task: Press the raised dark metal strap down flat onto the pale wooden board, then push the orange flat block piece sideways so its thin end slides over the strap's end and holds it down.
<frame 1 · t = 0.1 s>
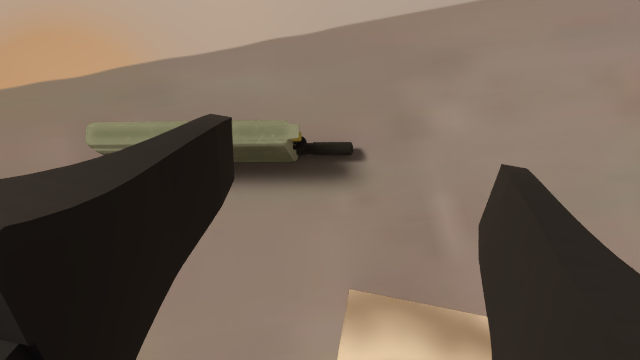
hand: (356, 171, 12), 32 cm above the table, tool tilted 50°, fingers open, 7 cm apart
handheld radio: (235, 153, 47), on the table
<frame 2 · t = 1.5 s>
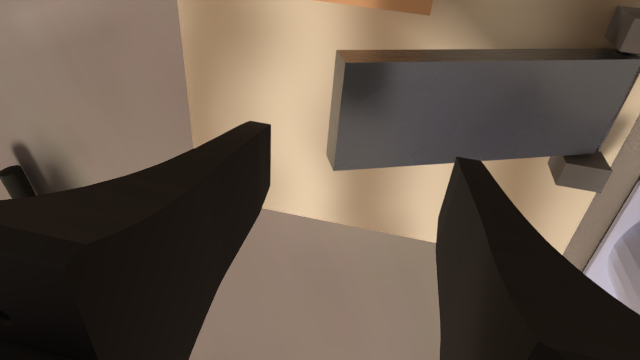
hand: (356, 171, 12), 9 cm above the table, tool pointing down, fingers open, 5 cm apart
board: (401, 46, 19), on the table
handheld radio: (97, 290, 36), on the table
strap: (487, 107, 15), point 5 cm above the table, hinge at 25.0°
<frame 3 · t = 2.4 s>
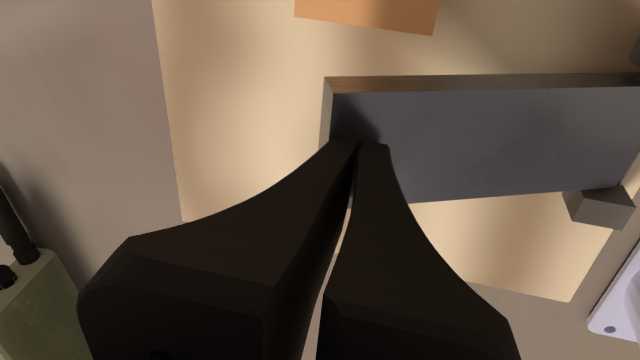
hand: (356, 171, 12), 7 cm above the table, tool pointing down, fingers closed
board: (400, 64, 17), on the table
handheld radio: (85, 310, 34), on the table
strap: (496, 138, 13), point 5 cm above the table, hinge at 24.7°, touching gripper
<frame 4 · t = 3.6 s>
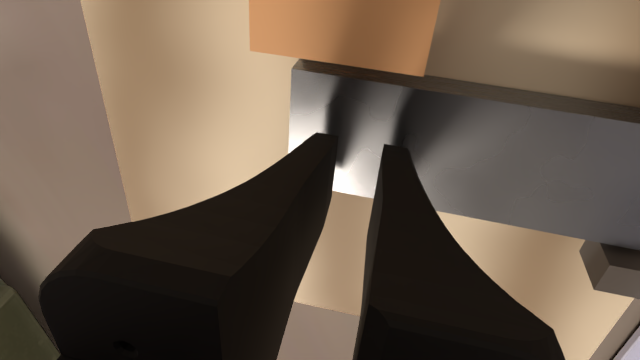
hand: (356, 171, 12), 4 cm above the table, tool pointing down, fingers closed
board: (388, 95, 15), on the table
handheld radio: (53, 349, 31), on the table
strap: (479, 154, 12), point 3 cm above the table, hinge at -0.7°, touching board
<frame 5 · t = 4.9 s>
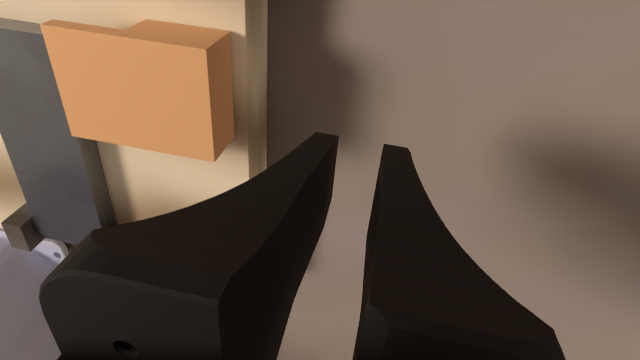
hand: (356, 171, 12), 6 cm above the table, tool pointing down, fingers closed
board: (82, 64, 20), on the table
strap: (53, 150, 19), point 3 cm above the table, hinge at -0.7°, touching board
orange flat block piece: (147, 86, 15), point 3 cm above the table, slide at 0.0 cm
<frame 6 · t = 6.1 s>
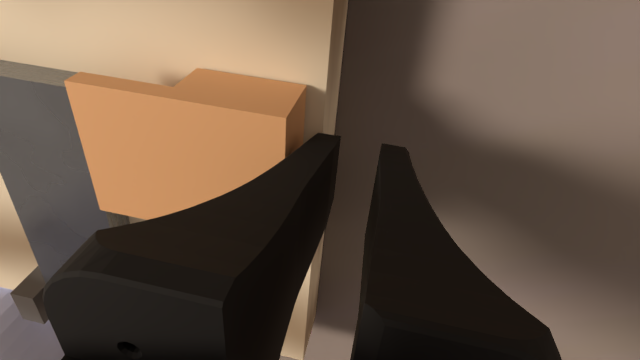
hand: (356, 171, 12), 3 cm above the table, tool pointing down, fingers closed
board: (107, 108, 16), on the table
strap: (73, 214, 16), point 3 cm above the table, hinge at -0.7°, touching board
orange flat block piece: (196, 151, 12), point 3 cm above the table, slide at 0.0 cm, touching gripper
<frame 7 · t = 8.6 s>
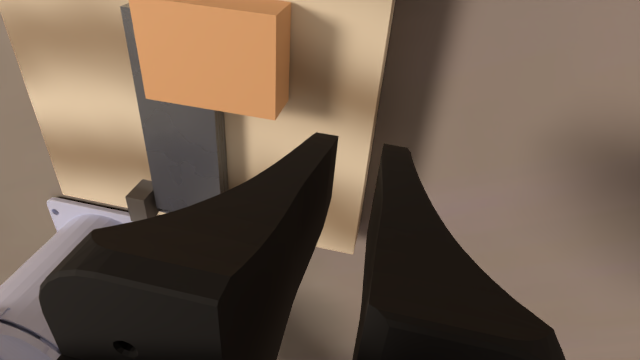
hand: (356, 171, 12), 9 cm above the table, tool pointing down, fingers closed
board: (205, 48, 21), on the table
strap: (183, 127, 20), point 3 cm above the table, hinge at -0.7°, touching board
orange flat block piece: (215, 52, 17), point 3 cm above the table, slide at 3.2 cm
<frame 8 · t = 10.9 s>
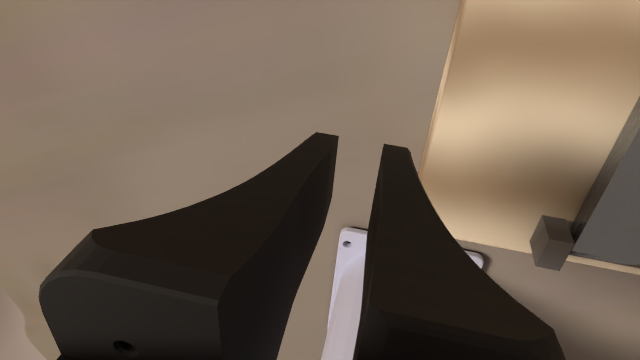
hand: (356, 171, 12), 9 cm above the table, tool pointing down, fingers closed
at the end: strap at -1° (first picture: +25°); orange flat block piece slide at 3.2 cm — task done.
